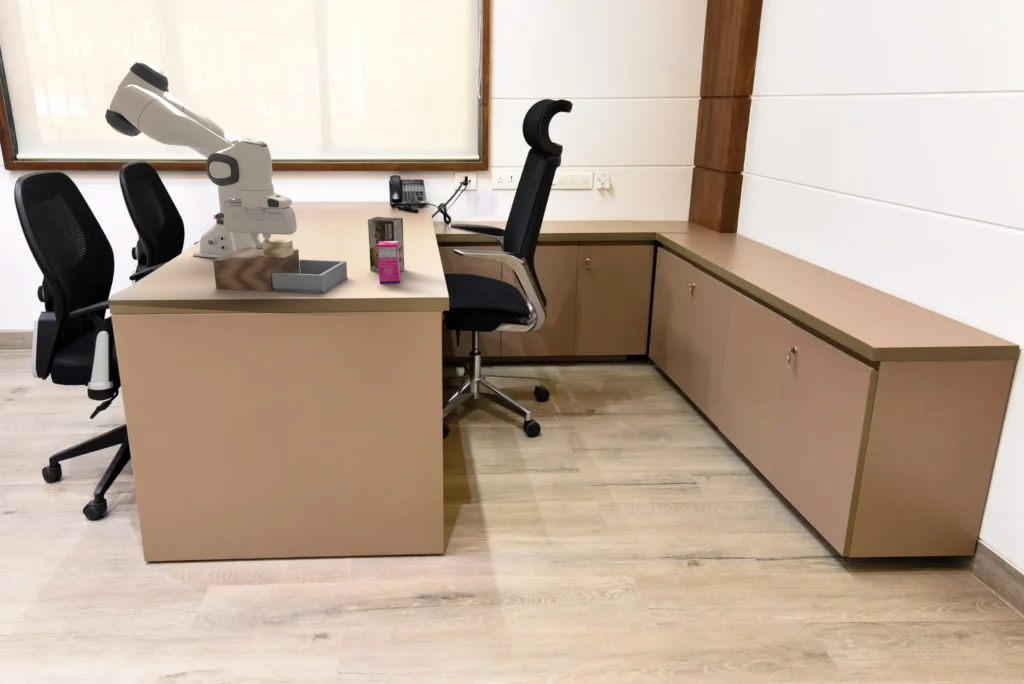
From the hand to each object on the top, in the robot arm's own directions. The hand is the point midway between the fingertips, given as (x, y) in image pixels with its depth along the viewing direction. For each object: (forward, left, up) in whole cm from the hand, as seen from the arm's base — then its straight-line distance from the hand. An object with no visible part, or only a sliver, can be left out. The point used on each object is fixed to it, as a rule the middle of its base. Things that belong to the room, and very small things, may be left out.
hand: (261, 249), depth 211 cm
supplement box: (+34, +8, -10) cm, 37 cm away
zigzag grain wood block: (-2, 0, -10) cm, 10 cm away
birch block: (+5, 0, -2) cm, 5 cm away
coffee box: (+29, +23, -10) cm, 39 cm away
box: (+14, 0, -10) cm, 17 cm away
